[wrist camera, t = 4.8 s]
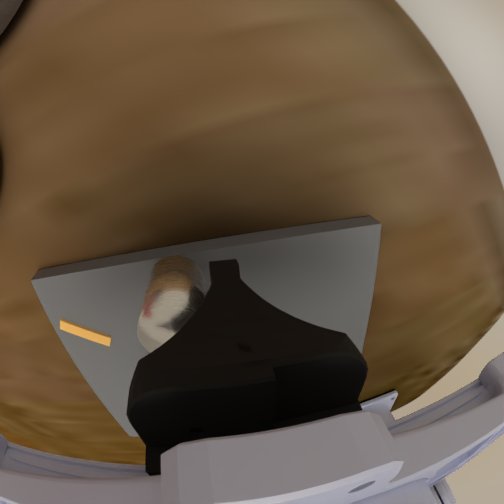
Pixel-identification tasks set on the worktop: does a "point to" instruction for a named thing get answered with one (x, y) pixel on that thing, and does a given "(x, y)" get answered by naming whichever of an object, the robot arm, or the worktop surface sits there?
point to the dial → (169, 300)
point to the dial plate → (202, 252)
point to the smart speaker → (7, 12)
